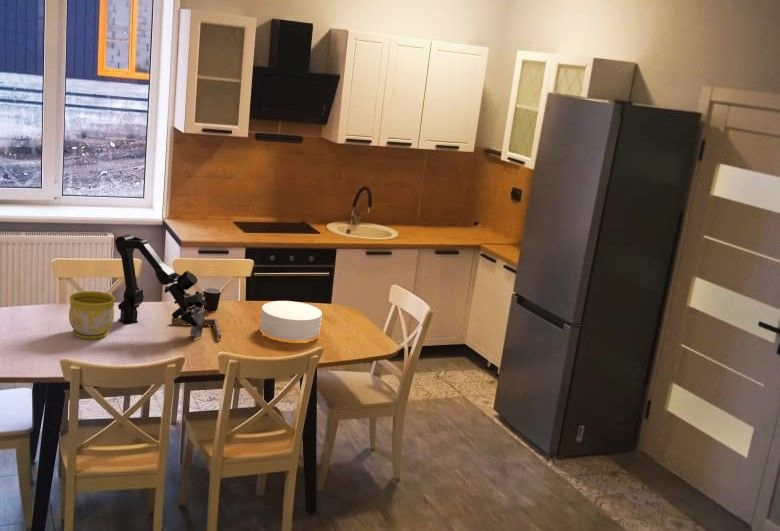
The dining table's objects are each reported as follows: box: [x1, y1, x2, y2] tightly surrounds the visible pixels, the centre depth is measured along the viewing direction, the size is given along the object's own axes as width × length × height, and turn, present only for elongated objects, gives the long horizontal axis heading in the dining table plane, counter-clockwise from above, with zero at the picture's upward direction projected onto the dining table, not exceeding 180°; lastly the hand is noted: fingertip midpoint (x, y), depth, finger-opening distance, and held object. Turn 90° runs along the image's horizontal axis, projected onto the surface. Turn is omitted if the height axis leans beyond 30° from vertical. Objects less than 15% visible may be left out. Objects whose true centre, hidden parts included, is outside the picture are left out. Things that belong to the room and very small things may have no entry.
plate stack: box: [259, 300, 323, 340], centre depth 372 cm, size 28×28×12 cm
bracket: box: [190, 307, 207, 340], centre depth 347 cm, size 5×5×13 cm
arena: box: [171, 317, 222, 340], centre depth 356 cm, size 21×20×3 cm
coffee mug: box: [202, 287, 222, 312], centre depth 390 cm, size 12×9×10 cm
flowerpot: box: [68, 290, 116, 340], centre depth 334 cm, size 18×18×16 cm
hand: (199, 325), depth 347 cm, fingers closed on bracket, 5 cm apart
